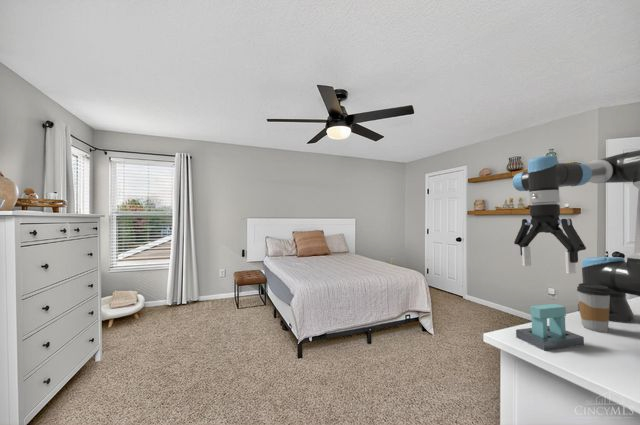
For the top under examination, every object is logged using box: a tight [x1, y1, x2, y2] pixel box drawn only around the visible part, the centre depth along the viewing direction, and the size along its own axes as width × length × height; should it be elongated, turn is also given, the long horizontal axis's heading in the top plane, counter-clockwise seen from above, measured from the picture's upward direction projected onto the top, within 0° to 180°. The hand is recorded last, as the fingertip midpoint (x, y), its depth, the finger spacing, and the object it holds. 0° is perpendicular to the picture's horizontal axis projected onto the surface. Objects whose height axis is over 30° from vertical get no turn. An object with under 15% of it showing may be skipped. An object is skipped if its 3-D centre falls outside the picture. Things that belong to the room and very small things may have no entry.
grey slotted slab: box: [515, 325, 585, 352], centre depth 84 cm, size 15×9×2 cm, turn 101°
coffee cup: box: [576, 282, 611, 333], centre depth 92 cm, size 8×8×15 cm
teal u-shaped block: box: [529, 303, 567, 338], centre depth 84 cm, size 10×4×11 cm, turn 101°
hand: (547, 269), depth 85 cm, fingers open, 13 cm apart
